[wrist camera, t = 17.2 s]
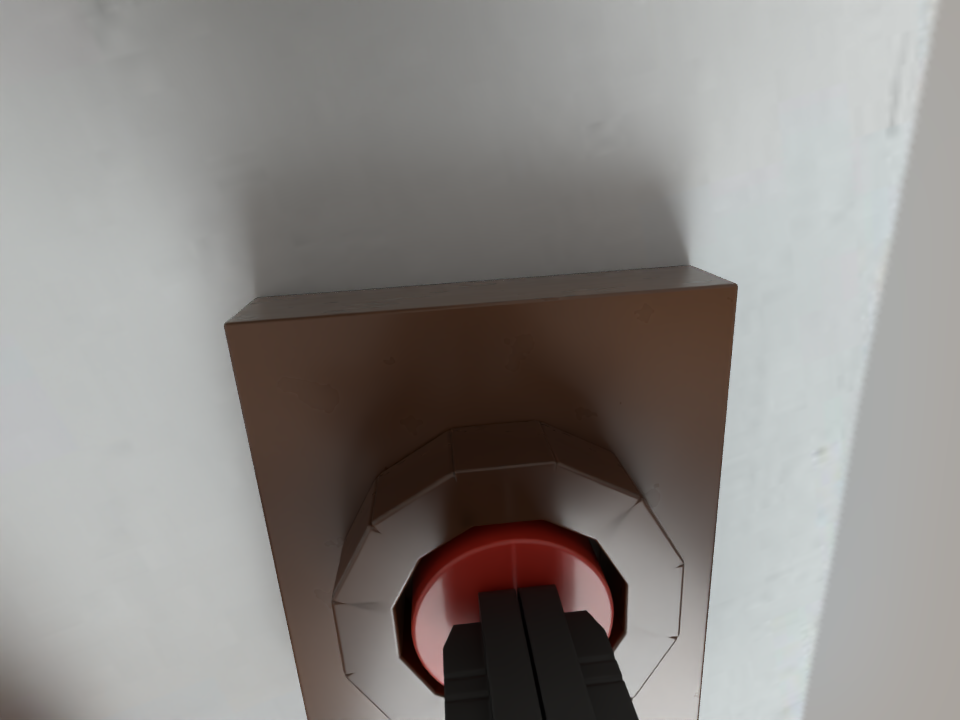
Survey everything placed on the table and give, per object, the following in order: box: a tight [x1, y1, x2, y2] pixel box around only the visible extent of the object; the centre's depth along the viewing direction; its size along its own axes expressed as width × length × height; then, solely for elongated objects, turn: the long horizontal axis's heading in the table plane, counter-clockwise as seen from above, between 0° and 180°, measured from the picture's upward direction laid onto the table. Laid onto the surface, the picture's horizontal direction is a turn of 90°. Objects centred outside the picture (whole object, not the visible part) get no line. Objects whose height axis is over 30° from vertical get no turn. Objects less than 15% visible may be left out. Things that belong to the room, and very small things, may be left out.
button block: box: [224, 265, 738, 720], centre depth 13 cm, size 12×10×4 cm
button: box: [411, 520, 614, 686], centre depth 12 cm, size 4×4×2 cm
